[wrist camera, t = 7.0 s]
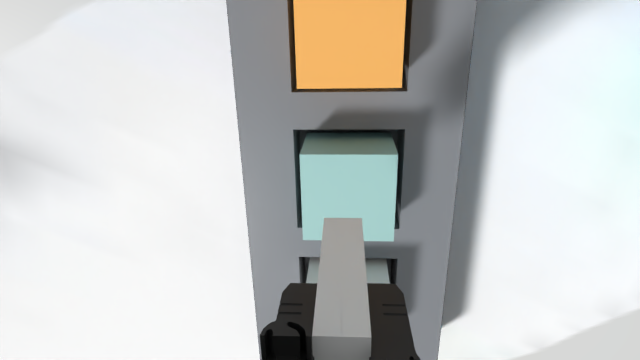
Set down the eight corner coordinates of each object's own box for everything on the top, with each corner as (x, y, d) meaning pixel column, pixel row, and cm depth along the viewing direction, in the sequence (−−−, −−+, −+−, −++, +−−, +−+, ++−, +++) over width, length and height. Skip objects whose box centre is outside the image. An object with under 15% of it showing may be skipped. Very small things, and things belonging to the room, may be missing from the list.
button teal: (309, 207, 26) (302, 239, 22) (307, 132, 24) (299, 154, 21) (387, 208, 26) (393, 241, 22) (390, 132, 24) (398, 154, 20)
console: (269, 331, 32) (260, 367, 29) (235, -92, 22) (216, -109, 19) (427, 336, 32) (436, 373, 28) (468, -101, 21) (490, -121, 18)
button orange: (305, 76, 23) (296, 88, 19) (302, -20, 21) (292, -27, 18) (393, 75, 23) (401, 87, 19) (397, -23, 21) (407, -30, 17)
